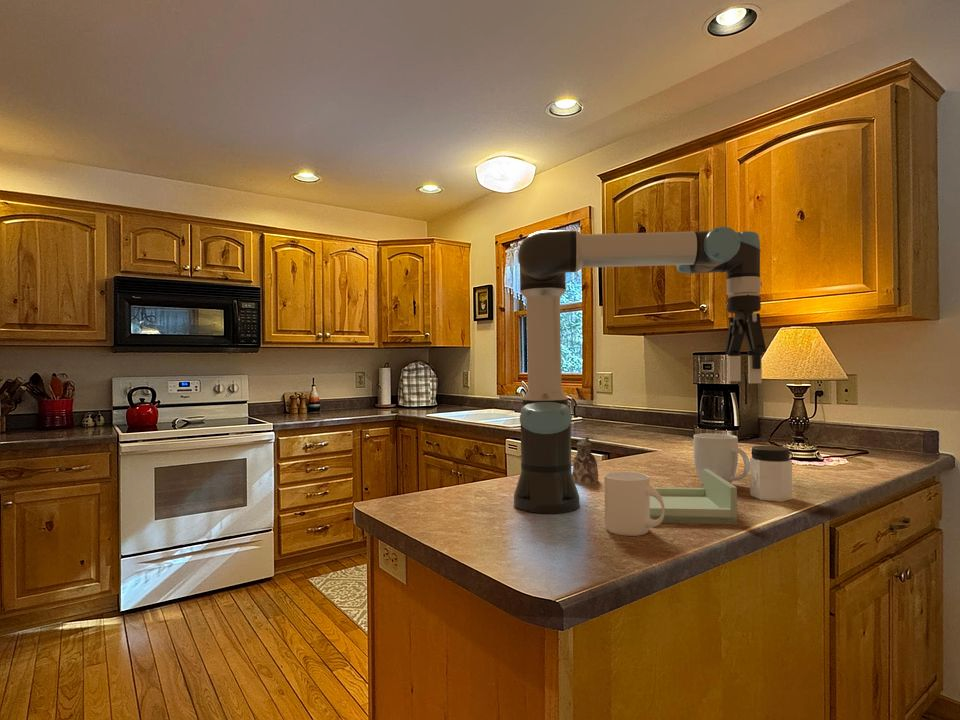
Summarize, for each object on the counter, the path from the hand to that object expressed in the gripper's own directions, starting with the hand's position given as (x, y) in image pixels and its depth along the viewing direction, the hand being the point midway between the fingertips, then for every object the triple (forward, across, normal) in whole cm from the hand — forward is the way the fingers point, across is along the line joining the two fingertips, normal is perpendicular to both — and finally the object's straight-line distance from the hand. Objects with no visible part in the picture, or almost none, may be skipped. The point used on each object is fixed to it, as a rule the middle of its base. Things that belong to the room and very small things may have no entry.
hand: (744, 382), depth 138 cm
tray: (+28, -16, +20) cm, 38 cm away
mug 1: (+28, -32, +32) cm, 53 cm away
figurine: (+28, +14, +38) cm, 49 cm away
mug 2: (+28, +11, +3) cm, 30 cm away
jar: (+28, -2, -5) cm, 29 cm away
